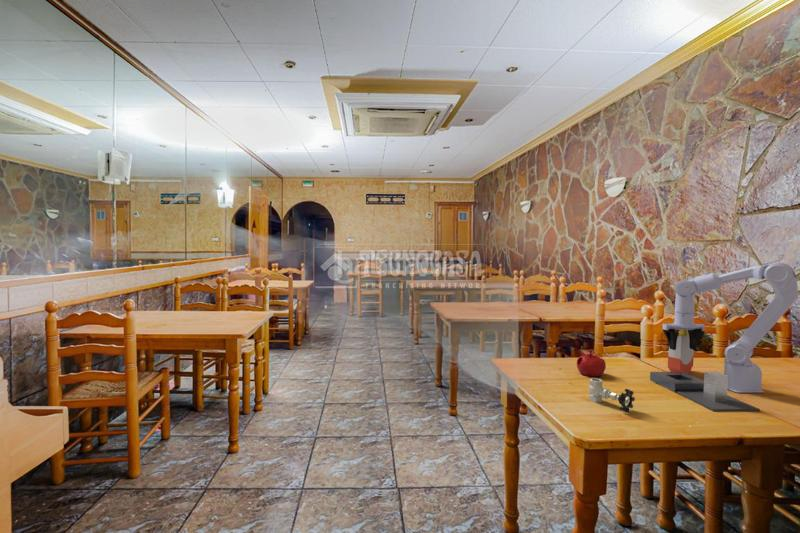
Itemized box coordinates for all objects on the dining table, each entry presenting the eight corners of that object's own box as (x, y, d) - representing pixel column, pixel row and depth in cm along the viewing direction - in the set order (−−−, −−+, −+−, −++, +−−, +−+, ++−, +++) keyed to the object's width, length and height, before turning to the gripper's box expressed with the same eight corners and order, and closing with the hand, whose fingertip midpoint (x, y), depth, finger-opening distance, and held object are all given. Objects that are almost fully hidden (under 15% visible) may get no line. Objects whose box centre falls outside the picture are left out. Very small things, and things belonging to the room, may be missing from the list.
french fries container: (666, 372, 149) (668, 326, 148) (679, 368, 155) (681, 323, 154) (679, 376, 145) (681, 328, 144) (693, 371, 151) (695, 325, 150)
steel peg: (714, 396, 123) (716, 371, 123) (726, 401, 119) (728, 375, 119) (703, 397, 123) (704, 371, 122) (714, 401, 119) (716, 376, 118)
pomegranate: (609, 374, 146) (610, 350, 146) (599, 380, 139) (600, 354, 139) (582, 368, 153) (583, 345, 153) (571, 373, 147) (572, 349, 146)
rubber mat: (718, 393, 128) (718, 391, 128) (759, 411, 114) (759, 408, 114) (677, 393, 127) (677, 391, 127) (713, 411, 113) (713, 409, 113)
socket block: (682, 380, 141) (682, 371, 141) (710, 392, 129) (710, 383, 129) (650, 380, 140) (650, 371, 140) (674, 392, 128) (675, 383, 128)
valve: (582, 400, 121) (622, 414, 110) (583, 379, 120) (622, 391, 110) (595, 396, 124) (634, 410, 114) (596, 376, 124) (635, 387, 114)
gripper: (694, 310, 147) (693, 346, 148) (657, 310, 146) (655, 346, 147) (710, 314, 140) (708, 351, 140) (671, 313, 139) (669, 351, 140)
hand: (682, 349), depth 143 cm, fingers open, 7 cm apart
